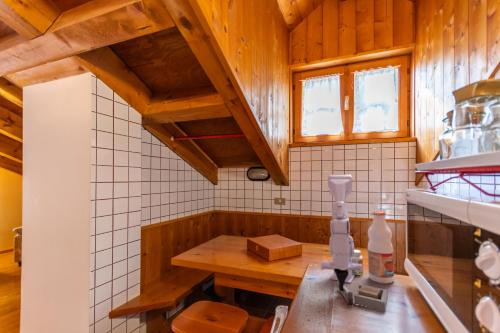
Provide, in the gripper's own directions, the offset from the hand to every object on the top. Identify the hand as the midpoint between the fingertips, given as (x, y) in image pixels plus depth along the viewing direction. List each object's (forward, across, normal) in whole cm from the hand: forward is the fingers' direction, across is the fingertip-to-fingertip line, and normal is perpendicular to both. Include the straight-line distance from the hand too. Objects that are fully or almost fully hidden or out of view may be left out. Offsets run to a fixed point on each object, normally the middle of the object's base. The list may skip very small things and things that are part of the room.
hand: (341, 289), depth 91 cm
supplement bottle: (+2, +12, +23) cm, 26 cm away
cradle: (+2, +9, -3) cm, 10 cm away
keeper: (+2, +1, -1) cm, 3 cm away
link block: (+2, +9, -3) cm, 10 cm away
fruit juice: (+2, +20, +16) cm, 26 cm away
